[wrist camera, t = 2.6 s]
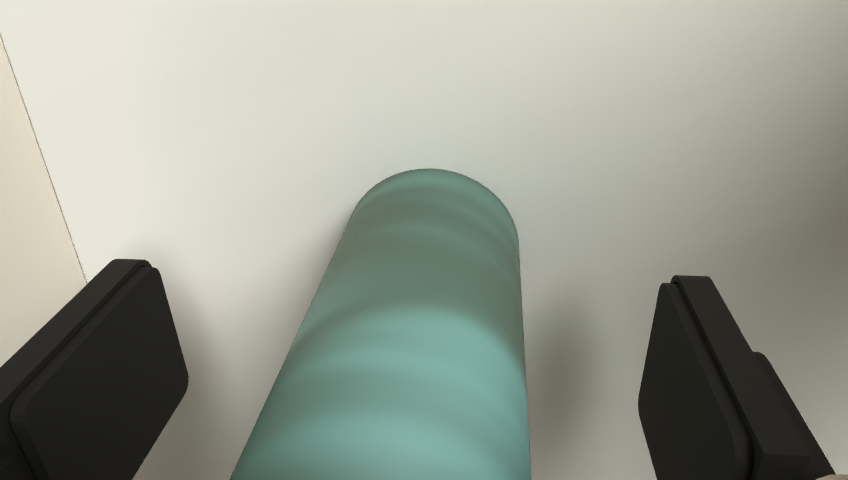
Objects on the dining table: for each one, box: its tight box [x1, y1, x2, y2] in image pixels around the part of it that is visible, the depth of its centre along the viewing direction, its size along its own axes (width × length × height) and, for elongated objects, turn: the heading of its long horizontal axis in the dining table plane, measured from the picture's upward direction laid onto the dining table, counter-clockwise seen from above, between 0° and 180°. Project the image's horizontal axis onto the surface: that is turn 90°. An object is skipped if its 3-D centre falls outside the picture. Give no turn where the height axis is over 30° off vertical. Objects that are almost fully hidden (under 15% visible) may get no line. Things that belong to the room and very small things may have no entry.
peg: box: [230, 169, 531, 480], centre depth 10 cm, size 4×4×10 cm
